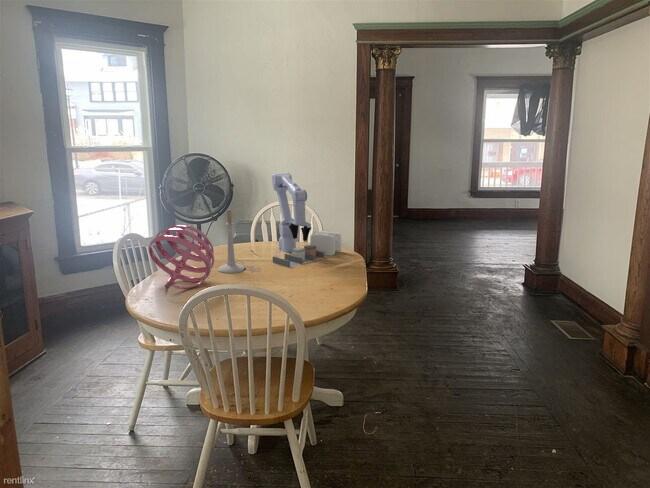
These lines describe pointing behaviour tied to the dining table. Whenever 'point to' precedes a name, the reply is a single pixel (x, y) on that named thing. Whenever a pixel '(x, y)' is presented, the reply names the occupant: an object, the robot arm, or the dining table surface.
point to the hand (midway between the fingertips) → (300, 239)
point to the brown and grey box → (310, 250)
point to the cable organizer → (326, 242)
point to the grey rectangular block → (299, 252)
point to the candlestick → (230, 251)
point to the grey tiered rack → (297, 259)
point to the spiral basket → (184, 254)
